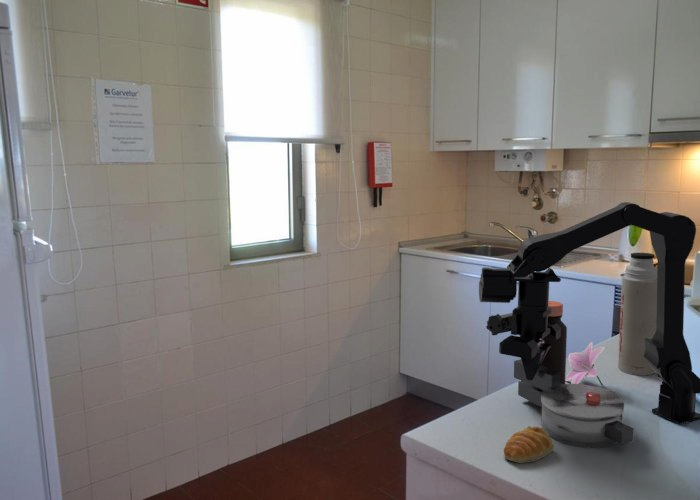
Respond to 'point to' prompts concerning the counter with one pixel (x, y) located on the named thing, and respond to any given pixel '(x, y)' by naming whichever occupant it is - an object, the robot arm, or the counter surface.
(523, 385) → the pot
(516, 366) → the lid
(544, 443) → the pastry
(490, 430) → the counter surface
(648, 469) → the counter surface
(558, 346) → the vinegar
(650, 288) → the thermos bottle
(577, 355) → the lily
